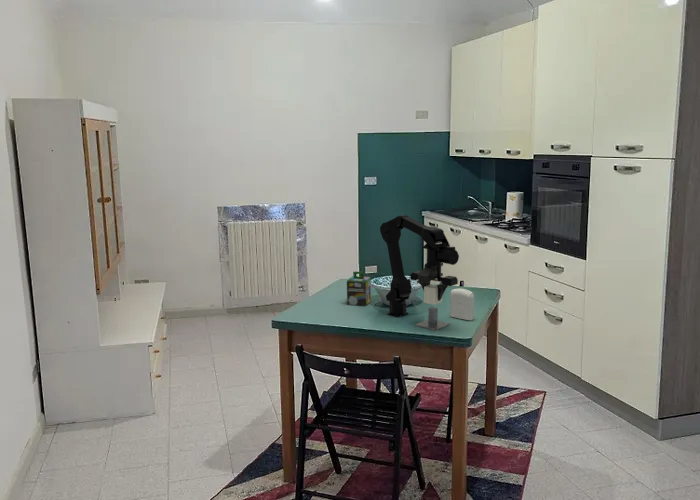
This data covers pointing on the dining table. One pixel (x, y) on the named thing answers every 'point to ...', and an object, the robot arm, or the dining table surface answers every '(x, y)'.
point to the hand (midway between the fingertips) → (433, 299)
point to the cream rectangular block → (431, 294)
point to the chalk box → (358, 290)
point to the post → (432, 321)
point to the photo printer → (462, 304)
